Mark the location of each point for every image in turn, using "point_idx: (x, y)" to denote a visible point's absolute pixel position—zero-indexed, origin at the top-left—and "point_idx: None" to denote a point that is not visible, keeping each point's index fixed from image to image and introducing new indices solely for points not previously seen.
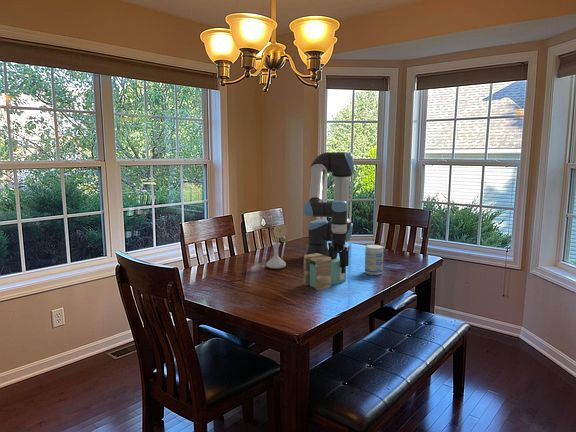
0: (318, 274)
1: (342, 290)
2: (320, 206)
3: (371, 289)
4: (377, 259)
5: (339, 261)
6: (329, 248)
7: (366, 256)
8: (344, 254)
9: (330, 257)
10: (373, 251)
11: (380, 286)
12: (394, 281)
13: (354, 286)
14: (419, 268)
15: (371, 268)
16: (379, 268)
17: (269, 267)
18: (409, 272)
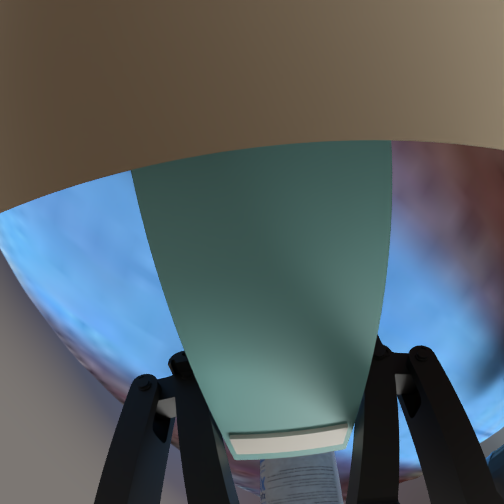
0: None
1: (102, 202)
2: None
3: (92, 341)
4: (262, 499)
5: (211, 411)
6: (478, 487)
7: (313, 497)
8: (106, 502)
9: None
10: None
11: (125, 387)
12: (173, 438)
13: (150, 309)
14: (258, 492)
15: (277, 458)
16: (260, 468)
17: None
18: (240, 480)
